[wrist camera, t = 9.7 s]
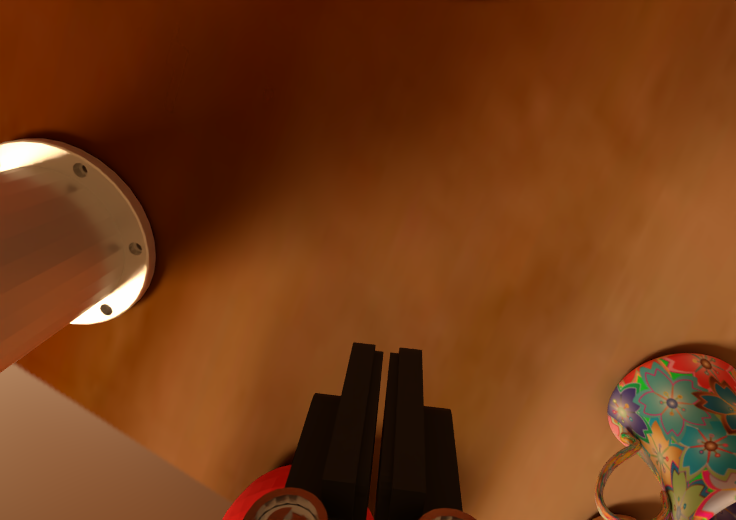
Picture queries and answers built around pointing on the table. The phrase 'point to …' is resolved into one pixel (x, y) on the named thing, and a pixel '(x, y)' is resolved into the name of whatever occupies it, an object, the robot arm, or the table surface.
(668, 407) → the mug
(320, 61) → the table surface
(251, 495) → the tomato
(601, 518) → the plastic bottle
